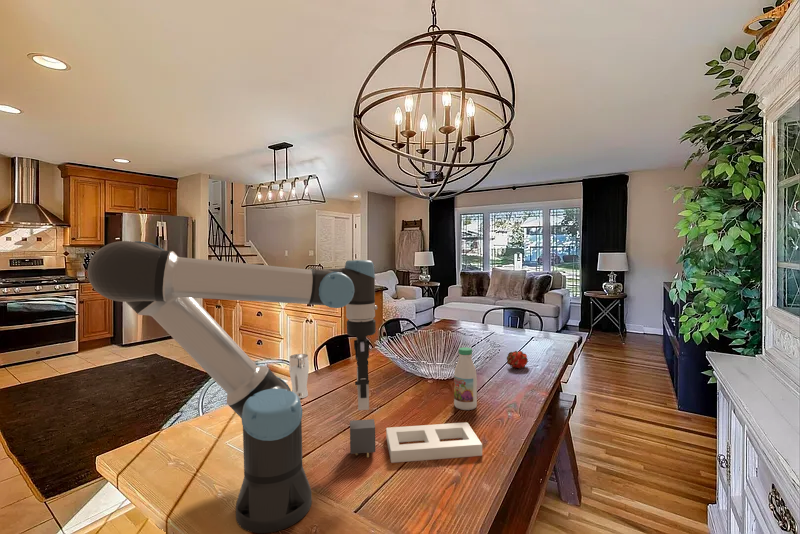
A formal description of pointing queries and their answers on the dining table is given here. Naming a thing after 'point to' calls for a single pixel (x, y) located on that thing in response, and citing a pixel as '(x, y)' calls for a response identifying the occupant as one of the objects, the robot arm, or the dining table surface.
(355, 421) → the plug
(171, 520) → the dining table surface
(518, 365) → the dragon fruit
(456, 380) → the milk bottle
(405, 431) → the socket plate
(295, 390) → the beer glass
